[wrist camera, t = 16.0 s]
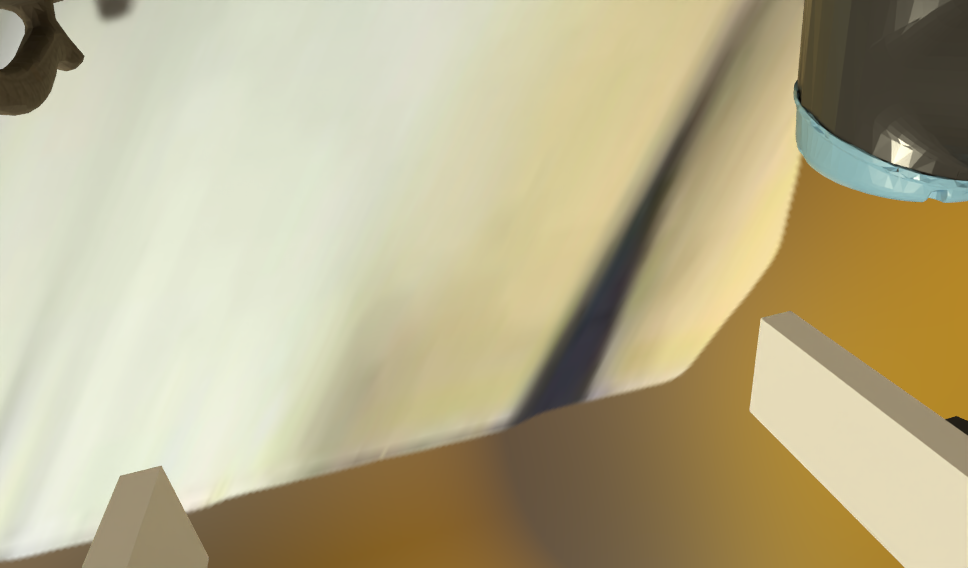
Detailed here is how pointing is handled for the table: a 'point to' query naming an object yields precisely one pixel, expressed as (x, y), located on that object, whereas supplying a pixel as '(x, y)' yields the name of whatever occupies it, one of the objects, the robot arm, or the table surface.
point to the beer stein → (35, 57)
